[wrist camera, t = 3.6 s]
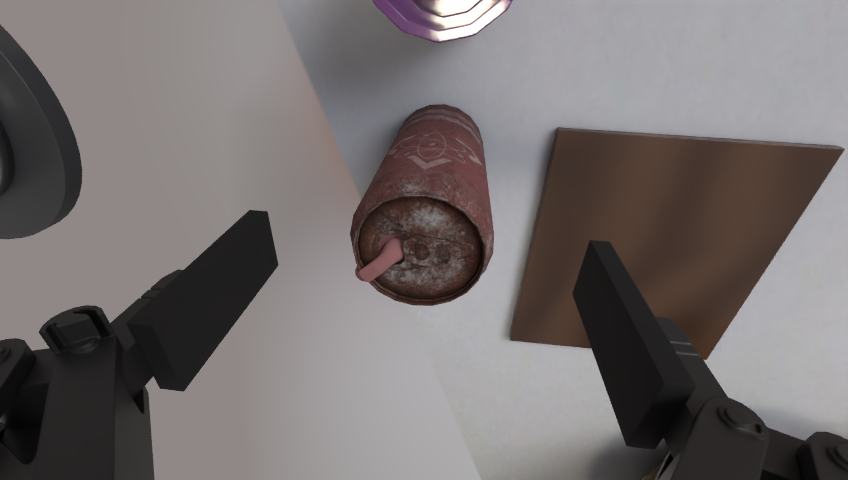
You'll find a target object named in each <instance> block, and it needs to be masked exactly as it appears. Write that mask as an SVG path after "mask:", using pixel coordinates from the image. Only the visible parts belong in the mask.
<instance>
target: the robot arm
mask: <svg viewBox="0 0 848 480" xmlns="http://www.w3.org/2000/svg"><path fill="white" fill-rule="evenodd" d="M14 173H15V160H14V154H13V149H12V146H11V143H10V140H9V137H8V135H7V132H6V130H5V128H4V126H3V124H2V122H1V120H0V196H1V195H2V194H4V193H5V192H6V191H7V190H8V189H9V187H10V185H11V184H12V181H13V178H14ZM277 266H278V261H277V256H276V251H275V247H274V242H273V237H272V232H271V227H270V222H269V217H268V212H267V211H254V210H249V211H248V212H247V213H246V214H245V215H244V216H243V217H242V218H240V219H239V220H238V221H237V222H236V223H235V224H234V225H233V226H232V227H231V228H230V229H228V230H227V231H226V232H225V233H224V234H223V235H222V236H221V237H219V238H218V240H216V241H215V242H214V243H213V244H212V245H211V246H210V247H208V248H207V250H205V251H204V252H203V253H202V254H201V255H200V256H199V257H198V258H197V259H196V260H194V261H193V262H192V263H191V264H190V265H189V266H188V267H187V268H185V269H184V270H176V271H174V272H173V273H171V274H169V275H167V276H165V277H163V278H162V279H160V280H159V281H158V282H157V283H156V284H155V285H154V286H152V287H151V290H148V291H147V292H146V293H144V294H143V295H142V296H141V299H140V298H139V299H138V300H136V301H135V302H134V303H133V304H132V305H131V306H130V307H128V308H127V309H126V310H125V311H124V312H123V313H122V314H120V315H119V316H118V317H117V318H116V319H115V320H114V321H112V322H111V323H109V321H108V319H107V317H106V315H105V314H104V312H103V310H102V309H101V308H99V307H97V306H81V307H76V308H72V309H70V310H67V311H64V312H62V313H60V314H58V315H56V316H54V317H53V318H51V319H50V320H48V321H47V322H46V323H45V324H44V325H43V326H42V328H41V329H40V331H39V333H40V335H41V336H42V338H43V339H44V340H45V342H46V343H47V345H48V346H49V349H42V350H34V351H32V350H31V349H30V348H29V346H28V345H27V344H26V342H25V341H24V340H21V339H16V338H15V339H5V340H1V341H0V421H1V422H0V480H154V468H153V454H152V440H151V425H150V411H149V397H148V392H147V389H146V387H145V385H146V384H147V383H148V381H149V380H150V379H151V378H152V377H153V376H154V378H155V380H156V382H157V384H158V386H159V387H160V389H168V390H176V391H184V390H185V389H186V388H187V386H188V385H189V384H190V382H191V381H192V380H193V378H194V377H195V376H196V374H197V373H198V372H199V370H200V369H201V368H202V366H203V365H204V364H205V362H206V361H207V360H208V358H209V357H210V356H211V354H212V353H213V352H214V350H215V349H216V348H217V346H218V345H219V343H220V342H221V341H222V340H223V338H224V337H225V336H226V334H227V333H228V332H229V330H230V329H231V327H232V326H233V325H234V324H235V322H236V321H237V320H238V318H239V317H240V316H241V314H242V313H243V312H244V310H245V309H246V308H247V306H248V305H249V303H250V302H251V301H252V300H253V298H254V297H255V296H256V294H257V293H258V292H259V290H260V289H261V288H262V286H263V285H264V284H265V282H266V281H267V280H268V278H269V277H270V276H271V274H272V273H273V272H274V270H275V269H276V268H277ZM572 295H573V298H574V300H575V303H576V306H577V309H578V312H579V314H580V317H581V320H582V323H583V326H584V328H585V331H586V334H587V337H588V340H589V342H590V345H591V348H592V351H593V354H594V356H595V359H596V362H597V365H598V368H599V370H600V373H601V376H602V379H603V381H604V384H605V387H606V390H607V393H608V395H609V398H610V401H611V404H612V407H613V409H614V412H615V415H616V418H617V421H618V423H619V426H620V429H621V432H622V435H623V437H624V440H625V443H626V446H630V447H638V448H646V449H654V450H655V449H656V447H657V446H658V444H659V443H660V441H661V440H662V438H664V440H665V442H666V444H667V447H668V449H669V451H670V452H669V453H668V455H667V456H666V457H665V459H664V460H663V462H662V463H661V464H660V466H659V467H658V469H657V470H656V471H655V473H657V476H656V478H655V480H848V440H847V439H845V438H843V437H841V436H838V435H835V434H831V433H828V432H815V433H814V434H812V435H811V436H810V437H809V438H808V439H807V440H806V441H803V440H800V439H797V438H795V437H792V436H789V435H786V434H784V433H781V432H778V431H775V430H772V429H770V428H768V427H766V425H765V424H764V422H763V421H762V420H761V419H760V418H759V417H758V416H757V415H756V414H755V413H754V412H753V411H752V410H751V409H749V408H748V407H746V406H745V405H743V404H742V403H740V402H737V401H735V400H733V399H730V398H728V397H727V395H726V394H725V392H724V391H723V389H722V388H721V386H720V385H719V383H718V382H717V380H716V379H715V377H714V376H713V374H712V373H711V371H710V370H709V368H708V367H707V365H706V364H705V362H704V361H703V359H702V358H701V357H699V353H698V352H697V350H696V349H695V347H694V346H692V343H691V341H690V339H689V338H688V336H687V335H686V333H685V332H684V330H683V329H681V328H680V327H679V326H678V325H677V324H676V323H674V322H673V321H672V320H671V319H670V318H665V317H655V316H654V314H653V313H652V311H651V309H650V308H649V306H648V304H647V303H646V301H645V299H644V298H643V296H642V294H641V293H640V291H639V289H638V288H637V286H636V284H635V283H634V281H633V279H632V278H631V276H630V274H629V273H628V271H627V269H626V268H625V266H624V264H623V263H622V261H621V259H620V258H619V256H618V254H617V253H616V251H615V249H614V248H613V246H612V244H611V243H610V242H609V241H597V240H590V241H589V244H588V247H587V250H586V253H585V256H584V259H583V262H582V265H581V268H580V271H579V274H578V278H577V281H576V284H575V287H574V290H573V293H572Z"/></svg>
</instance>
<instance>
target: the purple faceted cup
mask: <svg viewBox="0 0 848 480" xmlns="http://www.w3.org/2000/svg"><path fill="white" fill-rule="evenodd" d="M512 1H513V0H372V2H373V3H374V5H375V6H376V7H378V8H379V9H380V10H381V11H382V12H383V13H384V14H385V15H386V16H387V17H388V18H389V19H390V20H391V21H392V22H393V23H394V24H395V25H396V26H397V27H398V28H399V29H400V30H401V31H403V32H404V33H407V34H411V35H414V36H417V37H420V38H423V39H426V40H430V41H433V42H436V43H437V42H438V43H440V42H445V41H450V40H455V39H460V38H465V37H470V36H474V35H476V34H477V33H478V32H480V31H481V30H482V29H484V28H485V27H486V26H487V25H489V24H490V23H491V22H493V21H494V20H495V19H496V18H498V17H499V16H500V15H501V14H503V13H504V12H505V11H506V10H507V9H508V8H509V6H510V4H511V3H512Z"/></svg>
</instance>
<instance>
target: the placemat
mask: <svg viewBox="0 0 848 480" xmlns="http://www.w3.org/2000/svg"><path fill="white" fill-rule="evenodd" d="M844 150H845V149H844V148H842V147H839V146H830V145H815V144H799V143H784V142H769V141H754V140H738V139H723V138H708V137H693V136H678V135H662V134H647V133H632V132H617V131H601V130H586V129H571V128H557V131H556V135H555V139H554V144H553V148H552V152H551V157H550V161H549V166H548V170H547V174H546V179H545V183H544V187H543V192H542V196H541V200H540V205H539V209H538V214H537V218H536V222H535V227H534V231H533V235H532V240H531V244H530V249H529V253H528V257H527V262H526V266H525V270H524V275H523V279H522V283H521V288H520V292H519V297H518V301H517V305H516V310H515V314H514V318H513V323H512V327H511V332H510V340H512V341H522V342H532V343H542V344H552V345H562V346H572V347H582V348H591V345H590V342H589V340H588V337H587V334H586V331H585V328H584V326H583V323H582V320H581V317H580V314H579V312H578V309H577V306H576V303H575V300H574V298H573V295H572V293H573V290H574V287H575V284H576V281H577V278H578V274H579V271H580V268H581V265H582V262H583V259H584V256H585V253H586V250H587V247H588V244H589V241H590V240H597V241H609V242H610V243H611V244H612V246H613V248H614V249H615V251H616V253H617V254H618V256H619V258H620V259H621V261H622V263H623V264H624V266H625V268H626V269H627V271H628V273H629V274H630V276H631V278H632V279H633V281H634V283H635V284H636V286H637V288H638V289H639V291H640V293H641V294H642V296H643V298H644V299H645V301H646V303H647V304H648V306H649V308H650V309H651V311H652V313H653V314H654V316H655V317H665V318H670V319H671V320H672V321H673V322H674V323H676V324H677V325H678V326H679V327H680V328H681V329H683V330H684V332H685V333H686V335H687V336H688V338H689V339H690V341H691V343H692V346H694V347H695V349H696V350H697V352H698V353H699V357H701V358H702V359H703V360H707V358H708V357H709V355H710V354H711V352H712V351H713V349H714V347H715V346H716V344H717V343H718V341H719V340H720V338H721V337H722V335H723V334H724V332H725V331H726V329H727V328H728V326H729V325H730V323H731V322H732V320H733V319H734V317H735V316H736V314H737V312H738V311H739V309H740V308H741V306H742V305H743V303H744V302H745V300H746V299H747V297H748V296H749V294H750V293H751V291H752V290H753V288H754V287H755V285H756V284H757V282H758V281H759V279H760V277H761V276H762V274H763V273H764V271H765V270H766V268H767V267H768V265H769V264H770V262H771V261H772V259H773V258H774V256H775V255H776V253H777V252H778V250H779V249H780V247H781V246H782V244H783V242H784V241H785V239H786V238H787V236H788V235H789V233H790V232H791V230H792V229H793V227H794V226H795V224H796V223H797V221H798V220H799V218H800V217H801V215H802V214H803V212H804V211H805V209H806V207H807V206H808V204H809V203H810V201H811V200H812V198H813V197H814V195H815V194H816V192H817V191H818V189H819V188H820V186H821V185H822V183H823V182H824V180H825V179H826V177H827V176H828V174H829V172H830V171H831V169H832V168H833V166H834V165H835V163H836V162H837V160H838V159H839V157H840V156H841V154H842V153H843V151H844Z"/></svg>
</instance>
